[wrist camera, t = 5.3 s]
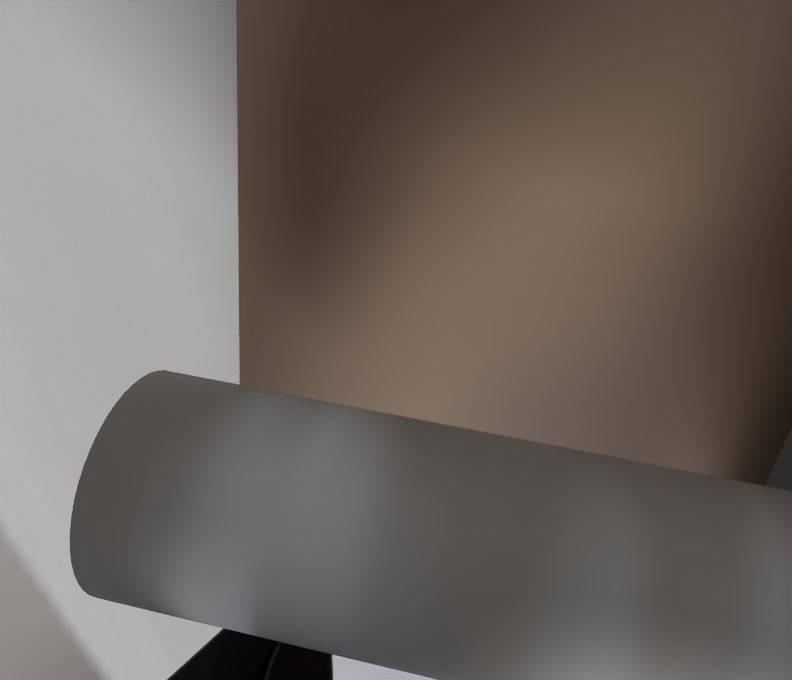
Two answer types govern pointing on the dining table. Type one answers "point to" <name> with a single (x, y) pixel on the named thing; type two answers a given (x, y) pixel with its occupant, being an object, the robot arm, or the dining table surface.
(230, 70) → the dining table surface
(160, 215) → the dining table surface
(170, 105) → the dining table surface
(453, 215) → the pipe fixture
